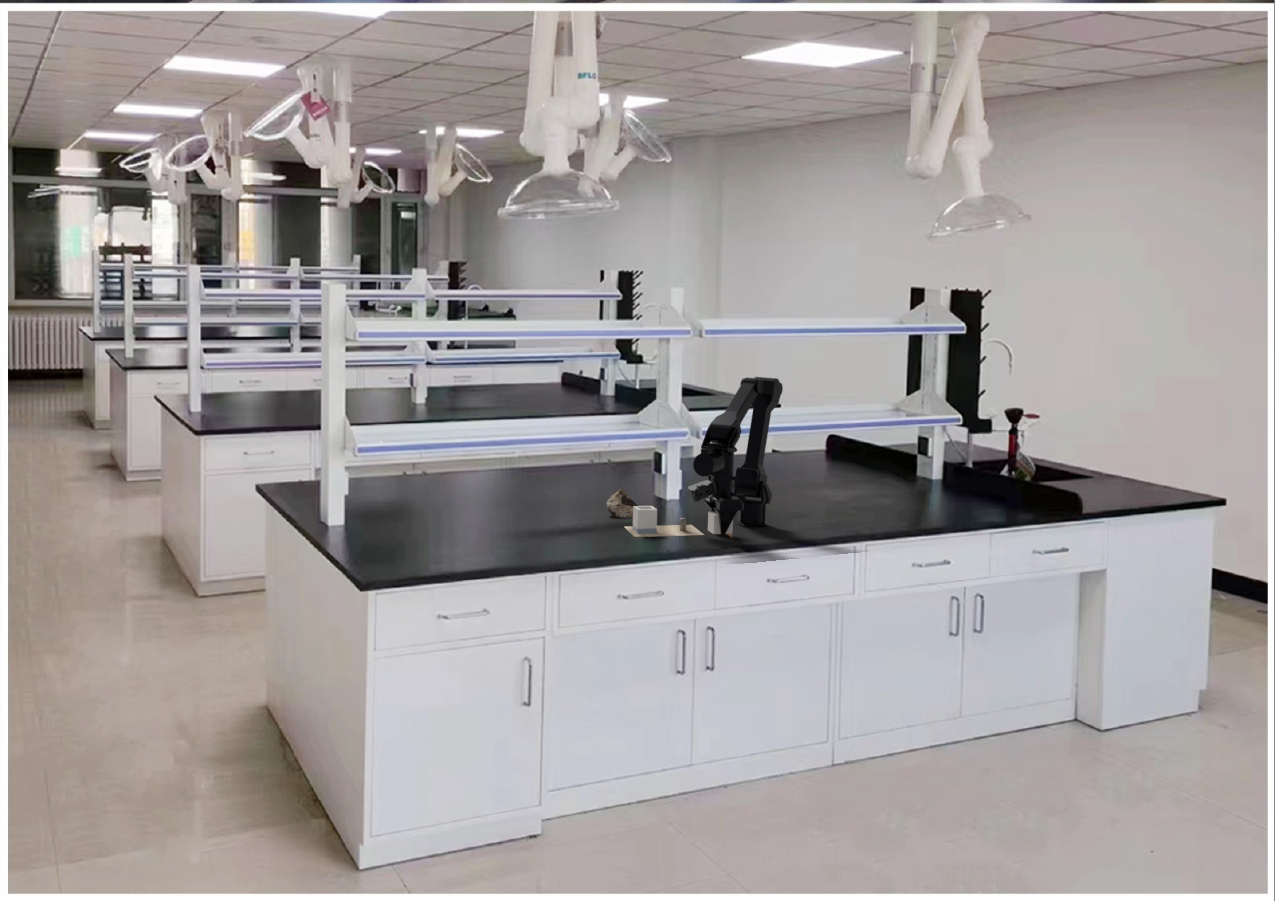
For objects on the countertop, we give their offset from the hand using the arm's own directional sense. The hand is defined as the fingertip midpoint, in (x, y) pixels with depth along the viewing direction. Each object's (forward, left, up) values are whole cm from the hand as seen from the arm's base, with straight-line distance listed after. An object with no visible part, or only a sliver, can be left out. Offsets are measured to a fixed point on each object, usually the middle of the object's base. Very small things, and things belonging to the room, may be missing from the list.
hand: (720, 531), depth 323 cm
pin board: (+14, -3, -1) cm, 14 cm away
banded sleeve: (0, 0, -1) cm, 1 cm away
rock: (+20, -23, -2) cm, 30 cm away
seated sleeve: (+19, -3, 0) cm, 19 cm away
